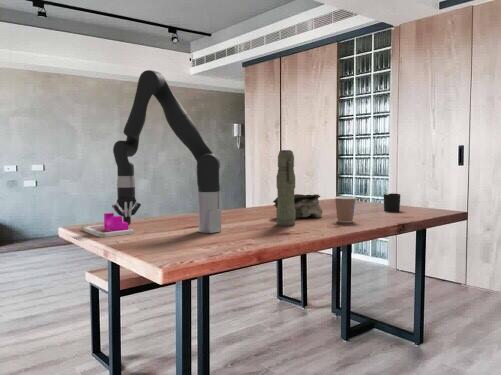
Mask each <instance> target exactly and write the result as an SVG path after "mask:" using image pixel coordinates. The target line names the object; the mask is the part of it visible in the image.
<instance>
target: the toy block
mask: <svg viewBox="0 0 501 375" xmlns="http://www.w3.org/2000/svg"><path fill="white" fill-rule="evenodd" d="M103 222H104V223H103V225H104V229H103V230H105V231H106V232H114V231H123V230H129V225H128V223H127V222H123V216H120V215H115V213H114V212H106V213H104V212H103Z"/></svg>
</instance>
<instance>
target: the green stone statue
mask: <svg viewBox="0 0 501 375" xmlns="http://www.w3.org/2000/svg"><path fill="white" fill-rule="evenodd" d="M277 154H278V155H277V168H278V169H277V174H276V189H277V197H278V208H276V209H277V210H276V211H275V212H276V218H275V219H276V225H277V226H282V227H291V226H295V225H296V217H295V208H294V195H295V190H296V189H295V188H296V174H295V168H294V167H295V155H294V152H293V150H291V149H283V150H279V151H278V153H277Z"/></svg>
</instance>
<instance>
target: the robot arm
mask: <svg viewBox="0 0 501 375" xmlns="http://www.w3.org/2000/svg"><path fill="white" fill-rule="evenodd" d="M167 81H168V80H166V78H165V77H164V75H163V74H162V73H160V72H159V71H155V70H151V69H148V70H144V71H142V72H141V74H140V75H139V78H138V82H137V87H136V90H135V91H136V92H135V95H134V99H133V103H132V107H131V110H130V112H129V115H128V118H127V120H126V123H125V126H124V128H123V134H124V135H125V136H126V140H117V141H116V142H115V143H114V145H113V147H112V148H113V149H112V151H113V152H112V153H113V157H114V160H115V163H116V166H117V167H116V168H117V171H116V172H117V177H116V178H117V179H116V182H117V183H116V191H117V200H116V203H114V204H112V205H111V207H112V208H113V210H114V212H116V213H117V215H118V216H122V222H127V223H128V226H130V224H131V220H132V219H131V217H132V216H135V215H136V213H137V212H138V210H139V209H140V207H141V206H142V204H141V203H140V202H138V201H137V199H136V180H135V166H134V164H133V162H130V161H129V158H131V157H133V156H135V155H136V153H137V152H138V150H139V145H140V144H139V143H140V142H139V141H140V136H141V134H142V131H143V129H144V126H145V123H146V119H147V117H146V116H147V109H148V105H149V103H150V100H151V98H152V96H153V97H154V98H155V99H156V100H157V102H158V103H159V104H160V106H161V108H162V110H163V114H164V116H165V120H166V122H167V123H168V126H169V128H171V130H172V132H173V133H174V134H175V136H176V137H177V138H178V139H179V140H180V142H181V143H182V144H184V146H185V147H186V148H187V149H188V150H189V151H190V153H191V154H192V155H193V157H194V159H195V160H196V178H197V179H196V180H197V181H196V182H197V189H198V190H197V193H198V194H197V196H198V198H197V200H198V201H197V203H198V206H197V207H198V208H197V209H198V213H197V214H198V215H197V216H198V233H199V232H200V233H204V234H206V233H207V234H214V233H220V232H222V210H221V190H220V189H221V185H220V167H221V162H220V159H219V158H218V156H216V154H215V153H214V152H213V151H212V149H210V147H209V145H207V143H206V141H205V140H204V139H203V137H202V135H201V134H200V131H199V130H198V128H197V126H196V125H195V122H194V121H193V120H192V118H191V117H190V115H189V113H187V111H186V110H185V108H184V107H183V105H182V104H181V103H180V101H179V100H178V98H177V97H176V96H175V94H174V93H173V91H172V89H171V87H170V86H169V83H168V82H167ZM119 207H120V208H119Z"/></svg>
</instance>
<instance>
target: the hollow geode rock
mask: <svg viewBox="0 0 501 375" xmlns="http://www.w3.org/2000/svg"><path fill="white" fill-rule="evenodd" d="M319 198H321V195H320V194H318V193H317V194H315V193H314V194H298V193H294V208H295V219H300V218H307V217H313V218H321V217H322V216H323V213H324V210H323V209H322V207H321V206H320V200H319ZM272 203H274V204H273V207H275V208H276V211H277V208H278V196H277V197H276V198H275V199H274V200H273V201H272Z"/></svg>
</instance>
